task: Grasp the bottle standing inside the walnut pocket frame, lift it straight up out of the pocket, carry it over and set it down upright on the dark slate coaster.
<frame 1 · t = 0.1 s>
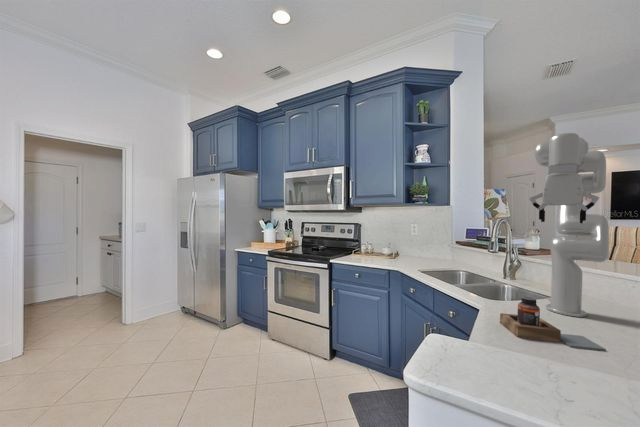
hand: (561, 222, 91), 37 cm above the counter, tool pointing down, fingers open, 9 cm apart
supplement bottle: (527, 332, 92), resting in pocket frame
slate coaster: (576, 342, 85), on the counter
pocket frame: (527, 331, 92), on the counter
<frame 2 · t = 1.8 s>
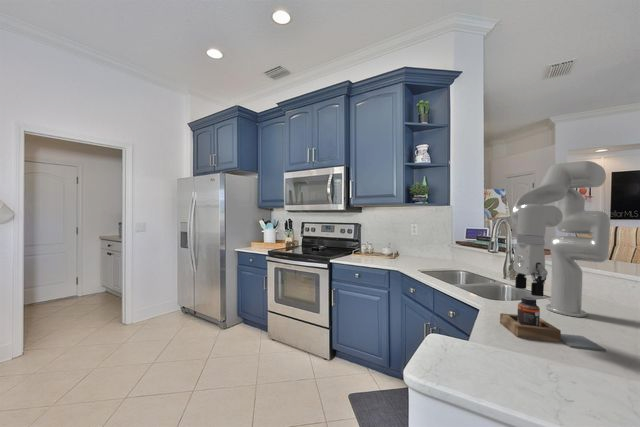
hand: (528, 291, 92), 13 cm above the counter, tool pointing down, fingers open, 9 cm apart
nothing on the counter moved.
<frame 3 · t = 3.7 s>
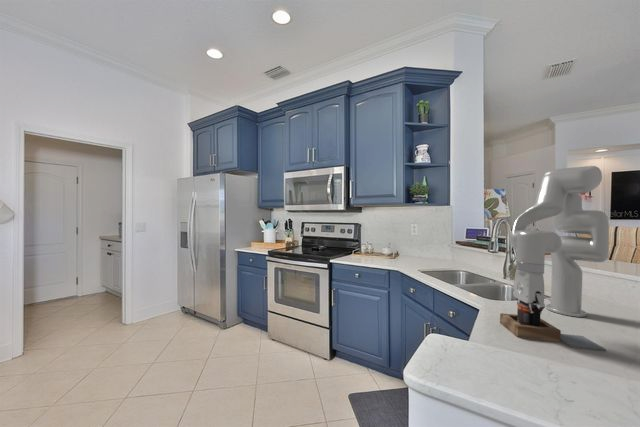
hand: (528, 320, 92), 4 cm above the counter, tool pointing down, fingers closed on supplement bottle, 6 cm apart
supplement bottle: (527, 332, 92), resting in pocket frame, touching gripper
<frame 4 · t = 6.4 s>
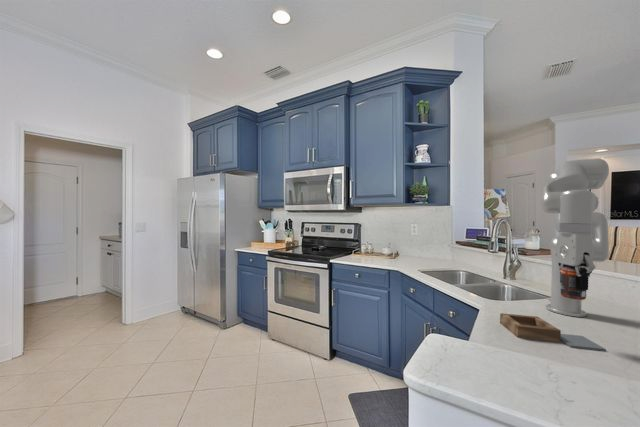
hand: (573, 286, 86), 17 cm above the counter, tool pointing down, fingers closed on supplement bottle, 5 cm apart
supplement bottle: (572, 298, 86), point 13 cm above the counter, touching gripper
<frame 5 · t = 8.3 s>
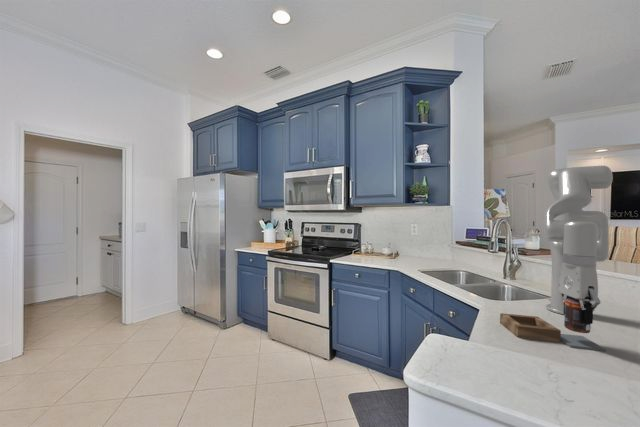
hand: (577, 318, 85), 7 cm above the counter, tool pointing down, fingers closed on supplement bottle, 5 cm apart
supplement bottle: (576, 330, 85), point 4 cm above the counter, touching gripper
when the fingers open (5 cm above the counter, at t = 9.6 s): supplement bottle drops 1 cm, resting on slate coaster.
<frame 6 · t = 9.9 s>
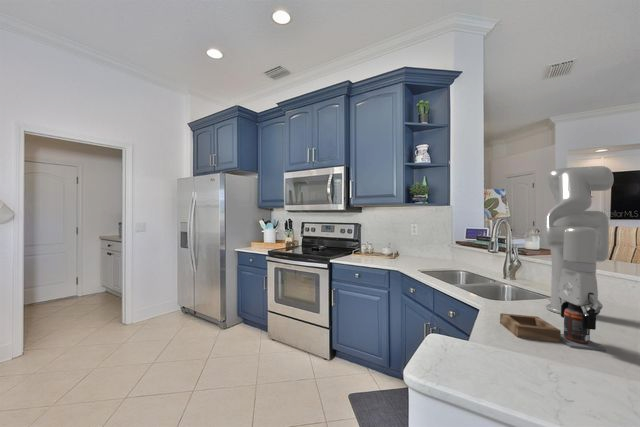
hand: (577, 322, 85), 6 cm above the counter, tool pointing down, fingers open, 8 cm apart
supplement bottle: (576, 340, 85), resting on slate coaster
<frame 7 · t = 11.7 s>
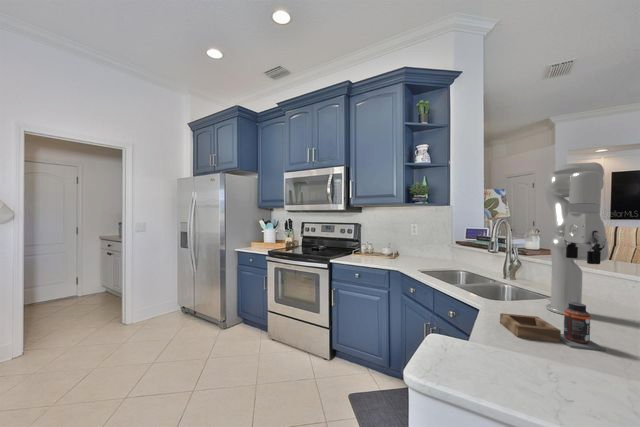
hand: (582, 260, 91), 25 cm above the counter, tool pointing down, fingers open, 9 cm apart
nothing on the counter moved.
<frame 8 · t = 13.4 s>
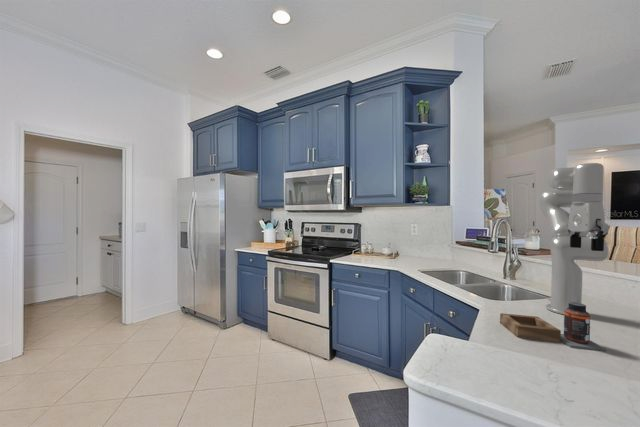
hand: (585, 249, 94), 28 cm above the counter, tool pointing down, fingers open, 9 cm apart
nothing on the counter moved.
at the end: supplement bottle inside the target area on the slate coaster (0.3 cm from its centre), point 0.4 cm above the slate coaster's base; supplement bottle tilted 0°; the gripper is holding nothing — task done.
